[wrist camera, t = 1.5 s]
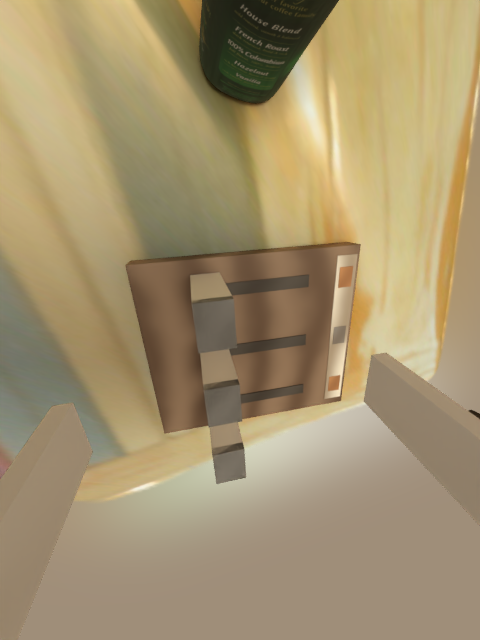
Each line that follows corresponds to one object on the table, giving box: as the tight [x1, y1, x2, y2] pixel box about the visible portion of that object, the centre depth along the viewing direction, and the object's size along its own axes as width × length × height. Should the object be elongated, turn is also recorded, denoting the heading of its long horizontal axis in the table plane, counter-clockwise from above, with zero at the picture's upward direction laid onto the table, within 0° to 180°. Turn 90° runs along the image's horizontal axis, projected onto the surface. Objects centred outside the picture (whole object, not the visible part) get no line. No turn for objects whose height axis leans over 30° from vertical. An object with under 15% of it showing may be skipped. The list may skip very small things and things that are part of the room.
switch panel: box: [126, 242, 360, 433], centre depth 32 cm, size 25×22×3 cm
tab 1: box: [190, 272, 237, 353], centre depth 23 cm, size 3×4×9 cm
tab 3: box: [210, 422, 246, 484], centre depth 29 cm, size 3×4×9 cm
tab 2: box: [200, 349, 242, 427], centre depth 26 cm, size 3×4×9 cm
